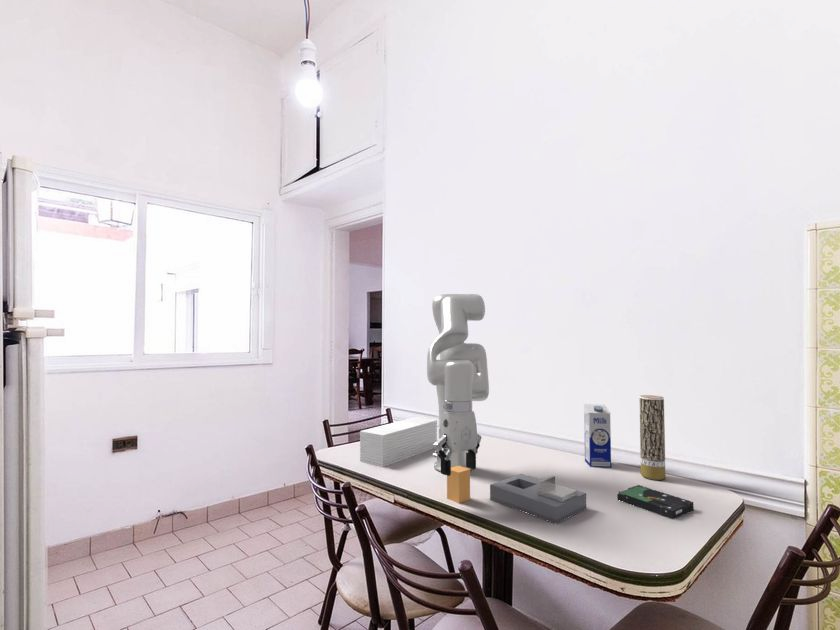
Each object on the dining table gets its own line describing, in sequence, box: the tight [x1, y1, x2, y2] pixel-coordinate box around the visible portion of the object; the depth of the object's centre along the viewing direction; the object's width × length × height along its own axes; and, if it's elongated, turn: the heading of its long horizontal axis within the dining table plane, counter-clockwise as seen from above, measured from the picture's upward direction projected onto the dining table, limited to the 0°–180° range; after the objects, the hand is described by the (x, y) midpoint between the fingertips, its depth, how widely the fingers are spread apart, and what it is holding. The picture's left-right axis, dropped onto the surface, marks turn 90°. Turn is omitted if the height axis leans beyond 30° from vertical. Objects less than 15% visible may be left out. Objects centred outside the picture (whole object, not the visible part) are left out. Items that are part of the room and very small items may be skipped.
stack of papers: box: [359, 416, 438, 468], centre depth 163 cm, size 32×11×11 cm, turn 143°
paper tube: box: [639, 394, 666, 481], centre depth 137 cm, size 7×7×25 cm
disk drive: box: [616, 484, 694, 520], centre depth 115 cm, size 10×3×15 cm
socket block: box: [489, 473, 587, 524], centre depth 115 cm, size 20×14×4 cm
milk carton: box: [583, 403, 612, 468], centre depth 151 cm, size 7×7×20 cm
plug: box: [446, 466, 471, 504], centre depth 119 cm, size 4×4×8 cm
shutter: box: [537, 475, 578, 502], centre depth 111 cm, size 7×7×3 cm
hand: (458, 471), depth 118 cm, fingers open, 9 cm apart
